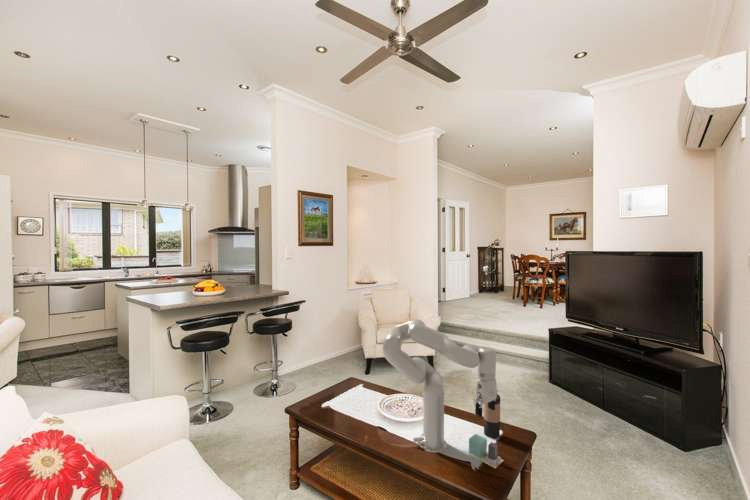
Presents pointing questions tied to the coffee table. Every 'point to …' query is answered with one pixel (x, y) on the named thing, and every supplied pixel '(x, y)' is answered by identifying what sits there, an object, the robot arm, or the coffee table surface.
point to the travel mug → (492, 420)
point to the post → (493, 454)
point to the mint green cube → (477, 446)
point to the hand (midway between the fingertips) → (485, 412)
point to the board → (486, 461)
